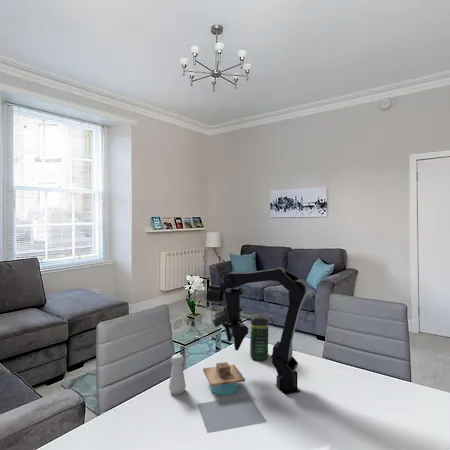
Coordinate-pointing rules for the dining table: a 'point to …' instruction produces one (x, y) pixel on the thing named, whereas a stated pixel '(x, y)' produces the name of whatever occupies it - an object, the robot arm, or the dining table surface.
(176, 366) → the salt shaker
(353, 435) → the dining table surface
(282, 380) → the robot arm
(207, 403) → the mat
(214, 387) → the bowl
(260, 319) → the coffee jar
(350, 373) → the dining table surface
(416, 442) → the dining table surface
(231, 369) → the lid
